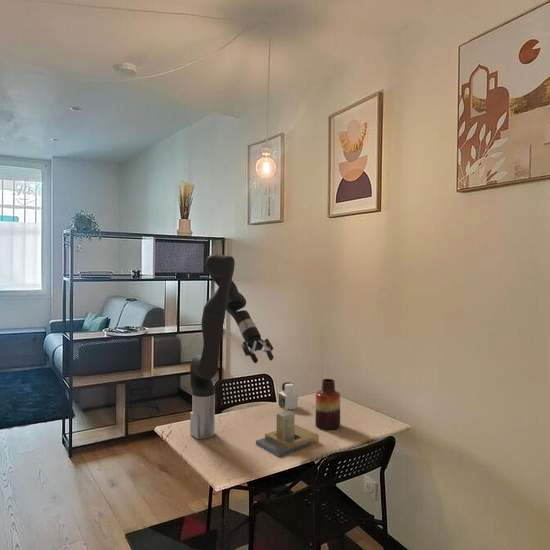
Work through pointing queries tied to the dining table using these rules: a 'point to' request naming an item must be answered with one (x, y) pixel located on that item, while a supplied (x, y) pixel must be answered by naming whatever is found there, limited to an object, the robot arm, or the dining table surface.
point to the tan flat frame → (284, 447)
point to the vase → (328, 406)
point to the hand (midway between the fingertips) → (264, 360)
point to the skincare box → (286, 425)
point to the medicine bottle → (288, 396)
